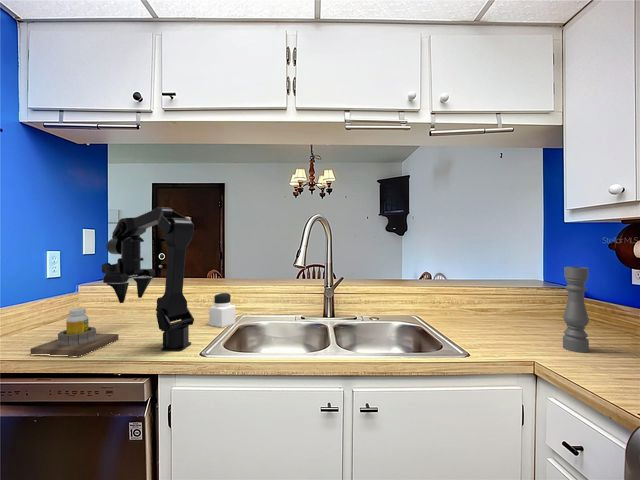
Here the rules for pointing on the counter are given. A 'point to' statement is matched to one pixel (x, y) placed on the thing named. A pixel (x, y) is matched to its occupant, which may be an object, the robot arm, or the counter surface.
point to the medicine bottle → (222, 311)
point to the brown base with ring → (75, 343)
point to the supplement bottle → (77, 321)
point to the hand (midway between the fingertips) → (131, 300)
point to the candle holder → (576, 310)
